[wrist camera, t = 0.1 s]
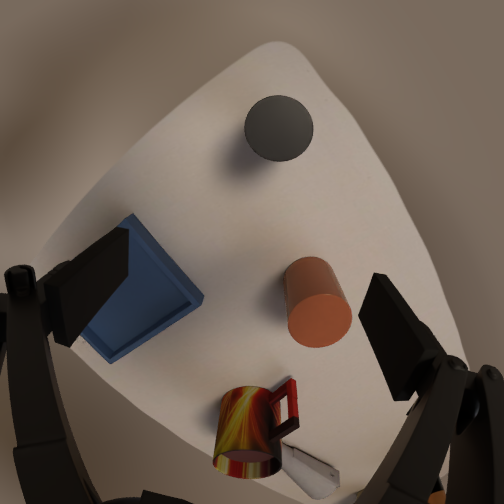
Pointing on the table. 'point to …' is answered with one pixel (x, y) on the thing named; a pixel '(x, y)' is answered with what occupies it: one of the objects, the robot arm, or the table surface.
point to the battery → (437, 493)
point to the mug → (254, 430)
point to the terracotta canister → (315, 303)
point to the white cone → (309, 473)
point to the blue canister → (278, 128)
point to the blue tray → (141, 298)
